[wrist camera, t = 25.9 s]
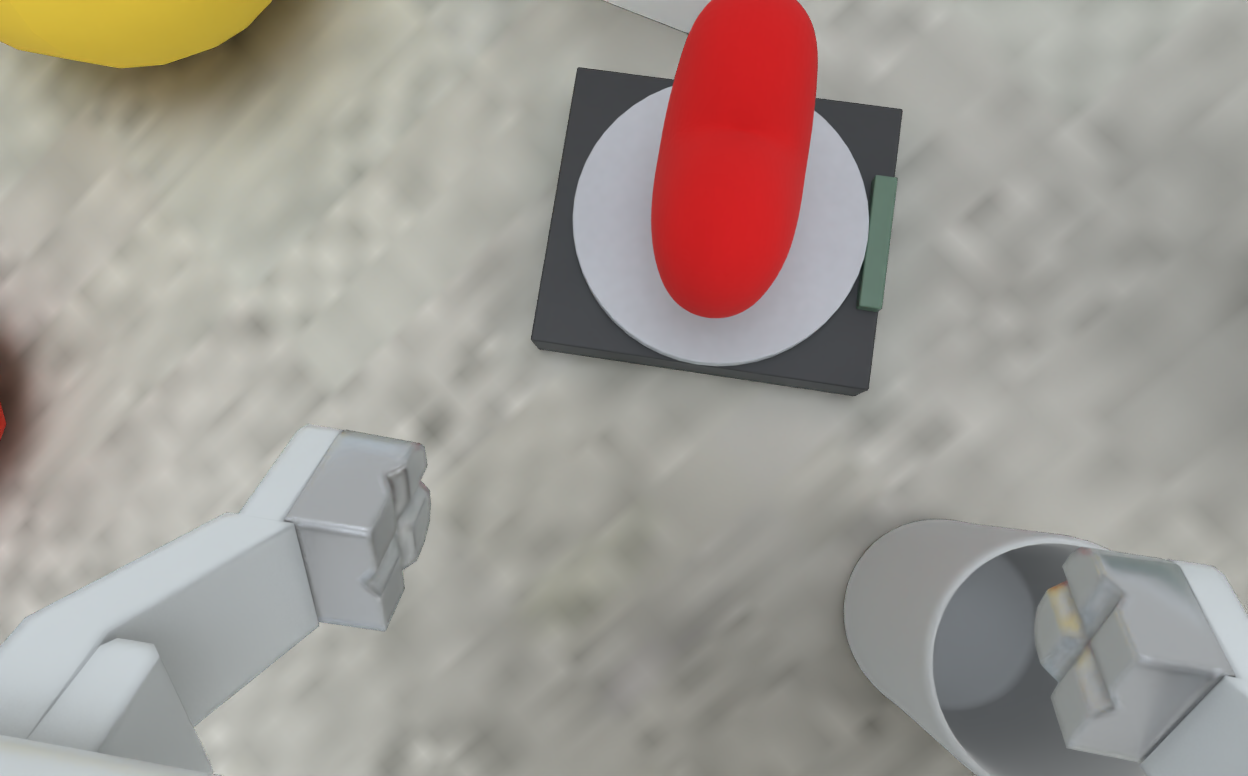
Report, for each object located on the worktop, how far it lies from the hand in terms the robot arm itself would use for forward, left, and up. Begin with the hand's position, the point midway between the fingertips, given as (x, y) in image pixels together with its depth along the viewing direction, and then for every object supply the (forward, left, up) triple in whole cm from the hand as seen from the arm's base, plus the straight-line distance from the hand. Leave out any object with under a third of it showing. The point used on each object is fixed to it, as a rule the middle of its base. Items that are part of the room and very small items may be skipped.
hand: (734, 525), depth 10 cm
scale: (0, -12, -27) cm, 30 cm away
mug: (-14, +4, -27) cm, 31 cm away
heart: (0, -12, -24) cm, 27 cm away
